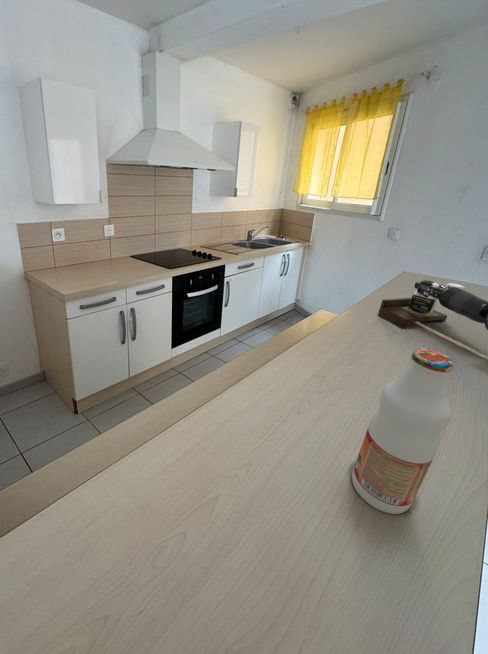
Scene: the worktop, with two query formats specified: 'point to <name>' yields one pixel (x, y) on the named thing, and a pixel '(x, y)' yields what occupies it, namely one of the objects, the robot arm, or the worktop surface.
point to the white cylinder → (456, 285)
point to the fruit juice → (404, 433)
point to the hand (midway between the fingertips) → (423, 284)
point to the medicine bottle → (423, 301)
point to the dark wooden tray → (404, 313)
